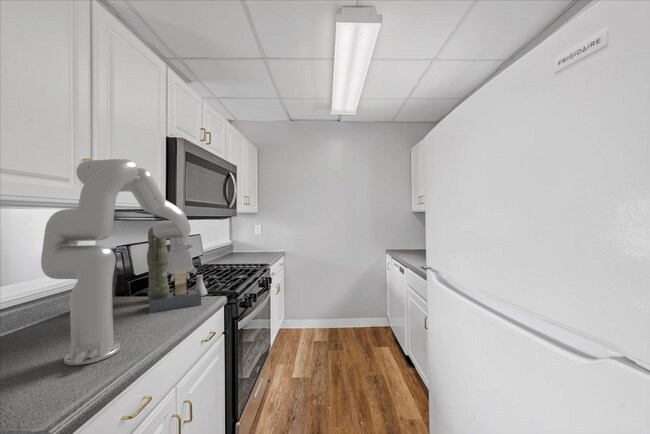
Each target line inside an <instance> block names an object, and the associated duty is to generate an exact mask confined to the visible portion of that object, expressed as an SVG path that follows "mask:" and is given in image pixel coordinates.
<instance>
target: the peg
mask: <svg viewBox="0 0 650 434" xmlns="http://www.w3.org/2000/svg"><path fill="white" fill-rule="evenodd" d="M186 277H187V276H186V269H185V270H180V271H175V277H174V279H175V290H174V292H175V296H180V295H187V289H188V288H187V287H186Z"/></svg>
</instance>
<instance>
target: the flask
mask: <svg viewBox="0 0 650 434" xmlns="http://www.w3.org/2000/svg"><path fill="white" fill-rule="evenodd" d="M203 276H204V275H203V274H198V275H195V278H196V282H195V285H194V289H199V290H200V292H201V297H204V296H207V295H208V290H207V288H206V286H205V284H204V281H203V280H204V279H203ZM194 289H193V290H194Z"/></svg>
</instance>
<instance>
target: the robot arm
mask: <svg viewBox="0 0 650 434" xmlns="http://www.w3.org/2000/svg"><path fill="white" fill-rule="evenodd" d="M76 167H77V168H76V172H75V173H76V177H77V179H78V180H79V181H80V182H81V184H83V186H82V188H81V190H80V195H79V200H78V204H77V208H68V209H67V208H66V209H60V210H58V211H55V212H54V213H53V214H52V215H51V216H50V217H49V219H48V220H47V222H46V225H45V229H44V234H43V242H42V250H41V257H40V259H41V260H40V265H41V266H40V267H41V270H42V273H44V275H45V276H46V277H47V278H50V279H55V280H77V281H76V283H75V284H74V286H73V288H72V289H71V293H70V296H69V311H70V313H69V314H70V315H69V316H70V348H71V349H70V352H69V353H67V354H66V355H65V356H64V358H63V363H64V365H68V366H83V365H88V364H93V363H97V362H100V361H103V360H105V359H108V358H110V357H112V356H114V355H115V354H117V353H118V352H119V351H120V349H121V343H119V342H118V341H117V342H116V341H114V312H113V311H114V309H113V307H114V306H113V305H114V304H113V279H114V273H115V272H114V271H115V269H116V263H117V262H116V260H117V257H116V254H115V253H114V251H113V250H112V249H110V248H109V247H107V246H104V245H95V244H93V245H92V244H91V245H88V244H87V245H86V244H85V245H78V243H79V242H81V241H82V242H88V241H89V242H92V241H103V240H106V239H107V238H109V237H110V236H111V234H112V232H113V228H114V218H115V209H116V201H117V198H118V197H117V196H118V195H119V193H121V192H123V193H124V192H126V193H127V192H129V193H131V194H132V195H133V196H134V198H135V200H136V201H137V202H138V204H139V206H140V207H141V209H142V210H143V211H144V212H147V213H149V214H151V215H155V216H158V217H162V218H164V219H167V220H161V221H160V220H159V221H158V222H156V223H154V225H153V234H154V235H155V236H156V237H158V238H162V239H166V240H167V239H169V251H168V258H167V268H166V269H165V271H164V272H163V273H162V275H163V276H165V277H167V278H168V280H169V281H170V282H171V288H172V289H173V291H175V271H180V270H185V269H186V287H187V289H189V287H190V285H191V284H190V280H191V278H193V276H194V275H195V274H196V273H197V272H198V269H197V268H196V267H195V266H194V264H193V257H192V251H191V250H190V249H191V248H193V244H189V235H190V234H191V231H192V229H191V228H192V227H191V224H190V221H189V219H188V218H187V216H186V213H185V212H184V211H183V209H181V208H180V207H178V206H177V205H175V204H174V203H172V202H170V201H169V200H167V199H165V197H164V195H163V193H162V192H161V190H160V188H159V186H158V185H157V183H156V181H155V179H154V177H153V175H152V174H151V172H150V171H149V170H147V169H146V168H142V167H138V165H137V164H136V163H135V162H134V161H132V160H130V159H127V158H126V159H125V158H119V159H118V158H116V159H91V160H88V159H87V160H84V161H82V162H81V163H79V164H78V165H77V166H76Z"/></svg>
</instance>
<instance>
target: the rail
mask: <svg viewBox="0 0 650 434" xmlns="http://www.w3.org/2000/svg"><path fill="white" fill-rule="evenodd" d="M148 300H149V302H148V313H149V314H150V313H156V312H163V311H169V310H176V309H183V308H189V307H196V306H201V305H202V296H201V292H200V290H199V289H188V290H187V295H180V296H175V291H174V292H169V293H164V294H156V295H150V298H149V299H148Z"/></svg>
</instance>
